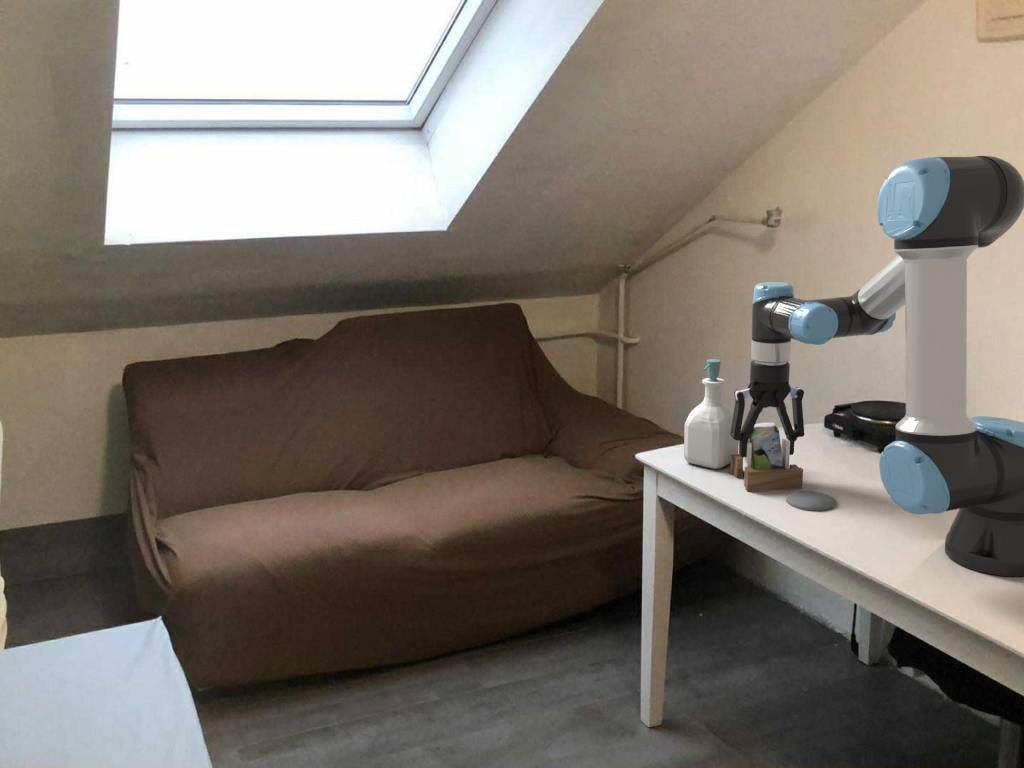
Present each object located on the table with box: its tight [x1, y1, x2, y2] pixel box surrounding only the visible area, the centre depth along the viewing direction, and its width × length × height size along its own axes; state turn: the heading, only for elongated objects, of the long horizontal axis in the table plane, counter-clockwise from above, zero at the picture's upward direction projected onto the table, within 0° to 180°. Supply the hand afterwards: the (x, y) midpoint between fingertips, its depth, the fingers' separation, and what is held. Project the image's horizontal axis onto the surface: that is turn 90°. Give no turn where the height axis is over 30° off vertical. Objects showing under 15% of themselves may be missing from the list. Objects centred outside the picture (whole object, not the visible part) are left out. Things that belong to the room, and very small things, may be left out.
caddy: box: [729, 453, 804, 492], centre depth 195 cm, size 11×11×4 cm
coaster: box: [786, 490, 837, 512], centre depth 184 cm, size 9×9×1 cm
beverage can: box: [749, 421, 783, 470], centre depth 194 cm, size 6×7×12 cm
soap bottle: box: [683, 358, 739, 470], centre depth 205 cm, size 10×10×23 cm
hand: (765, 470), depth 195 cm, fingers closed on beverage can, 7 cm apart
